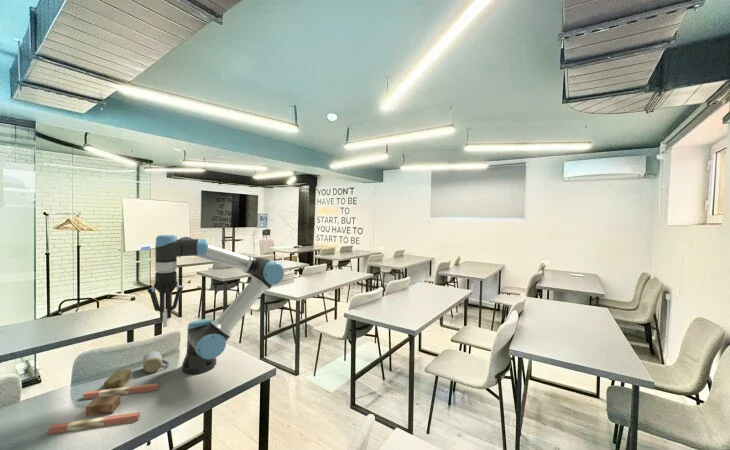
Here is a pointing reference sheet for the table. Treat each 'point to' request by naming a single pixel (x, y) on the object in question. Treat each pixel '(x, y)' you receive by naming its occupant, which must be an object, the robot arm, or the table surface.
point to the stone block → (118, 379)
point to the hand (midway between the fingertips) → (165, 325)
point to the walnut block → (103, 405)
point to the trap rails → (109, 419)
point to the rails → (100, 421)
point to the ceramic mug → (154, 362)
